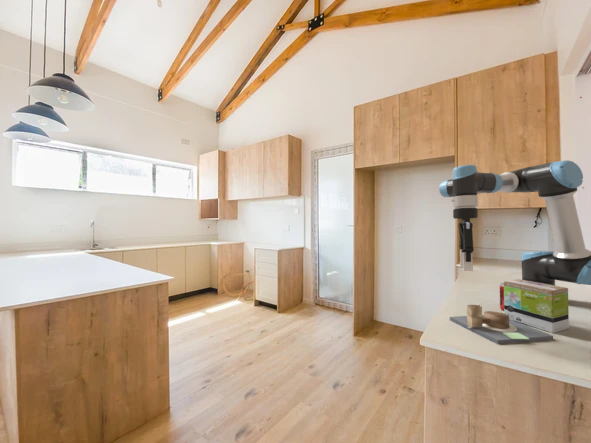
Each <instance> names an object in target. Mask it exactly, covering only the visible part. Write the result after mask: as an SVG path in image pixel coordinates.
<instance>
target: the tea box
mask: <svg viewBox="0 0 591 443" xmlns="http://www.w3.org/2000/svg"><path fill="white" fill-rule="evenodd" d="M503 283H504V311H503V314H506V315H508V316H509V319H510V320H513V321H516V322H518V323H521V324H523V325H526V326H529V327H531V328H534V329H538V330H540V331H543V332H547V331H548V333H550V332H551V334H556V333H558V331H559V332H561V331H565V330H567V329H569V328H570V327H569V322H570V321H569V320H570V318H569V317H570V316H569V314H570V313H569V287H565V286H560V285H555V286H554V285H548V284H543V283H537V282H532V281H526V280H522V278H521V279H520V278H519V279H513V280H507V281H503Z"/></svg>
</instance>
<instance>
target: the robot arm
mask: <svg viewBox="0 0 591 443" xmlns="http://www.w3.org/2000/svg"><path fill="white" fill-rule="evenodd" d="M451 176H452V178H451V179H447V180H443V181H442V182H441V183H440V184H439V187H438V188H439V189H438V190H439V194H440V195H441V196H442V197H443V198H452V199H451V200H450V202H452V207H453V209H452V218H453V219H457V220H458V219H460V222H459V223H458V233H459V243H458V247H459V249H460V250H459V261H460V262H459V266H460V267H462V268H463V269H462V270H463V271H464V272H474V260H473V259H474V258H473V257H474V256H473V253H474V235H473V222H471V219H477V218H478V217H479V216H478V213H479V212H478V211H479V210H478V206H479V205H478V203H479V202H478V200H479V199H478V194H493V193H497V192H502V193H504V194H509V193H537V194H538V198H541V199H542V200H544V202H545V203H544V204H545V206H546V211H547V215H548V219H549V223H550V226H551V227H550V228H551V232H552V236H553V240H554V244H555V248H556V250H555V251H553V250H550V251H525V252H522V254H521V260H520V262H521V280H526V281H532V282H537V283H543V284H548V285H554V286H556V281H559V282H566V283H571V284H572V283H573V284H577V285H587V286H591V250H589V249H587V248H586V244H585V241H584V235H583V232H582V228H581V223H580V220H579V219H580V218H579V215H578V211H577V207H576V206H577V205H576V202H575V197H574V195H575V194H576V193H577V192H578V187H580V186H582V184H583V181H584V180H583V179H584V175H583V171H582V169H581V168H580V166H579V165H578V164H577V163H575V162H574V161H571V160H559V161H552V162H547V163H542V164H538V165H532V166H527V167H524V168H520V169H519V168H518V169H515V170H512V171H505V172H503V173H500V174H499V173H494V172H478V170H477V166H476V165H474V164H464V165H459V166H455V167H454V168H453V169H452V175H451Z"/></svg>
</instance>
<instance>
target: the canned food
mask: <svg viewBox="0 0 591 443" xmlns="http://www.w3.org/2000/svg"><path fill="white" fill-rule="evenodd" d="M499 308H500V310H501V311H503V312H504V282H502V283H501V282H500V283H499Z"/></svg>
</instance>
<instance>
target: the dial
mask: <svg viewBox="0 0 591 443" xmlns="http://www.w3.org/2000/svg"><path fill="white" fill-rule="evenodd" d="M465 307H466V316H467V325H469V326H471V327H480V326H482V324H486V325H488V326H491V327H495V328H501V329H507V328H509V316H508V315H506V314H504V312H499V311H493V310H492V311H491V310H490V311H489V310H487V311H484V312H483V306H481V303H473V304H471V303H470V304H465ZM482 315H484V317H482Z"/></svg>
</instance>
